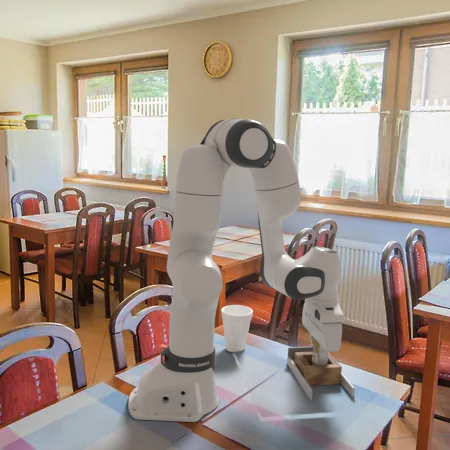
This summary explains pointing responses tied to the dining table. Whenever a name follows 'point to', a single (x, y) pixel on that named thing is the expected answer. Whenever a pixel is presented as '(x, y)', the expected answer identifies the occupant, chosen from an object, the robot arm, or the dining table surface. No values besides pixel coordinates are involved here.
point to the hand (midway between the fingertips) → (318, 353)
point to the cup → (236, 326)
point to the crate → (318, 369)
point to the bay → (301, 379)
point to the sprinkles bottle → (315, 358)
